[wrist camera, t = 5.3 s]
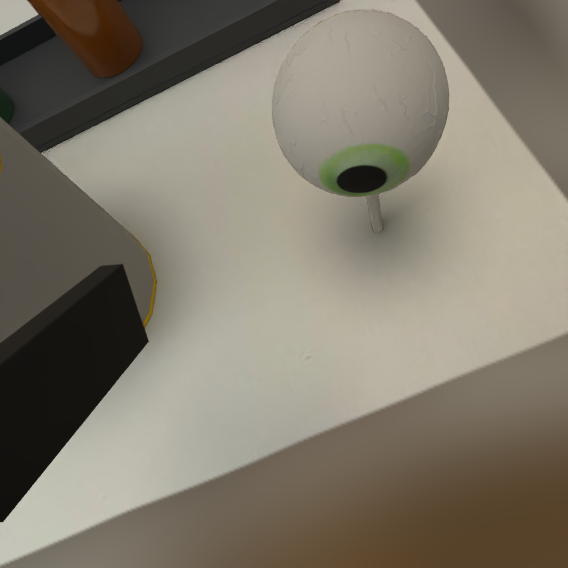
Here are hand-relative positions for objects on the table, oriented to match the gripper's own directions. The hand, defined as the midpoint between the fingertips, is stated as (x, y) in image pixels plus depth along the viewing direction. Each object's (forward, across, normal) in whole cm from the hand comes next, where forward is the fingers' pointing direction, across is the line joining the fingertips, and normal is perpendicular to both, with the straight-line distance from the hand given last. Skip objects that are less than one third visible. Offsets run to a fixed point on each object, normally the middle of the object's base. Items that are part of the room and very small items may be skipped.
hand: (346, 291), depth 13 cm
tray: (+31, -21, +9) cm, 38 cm away
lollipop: (+18, 0, -4) cm, 18 cm away
